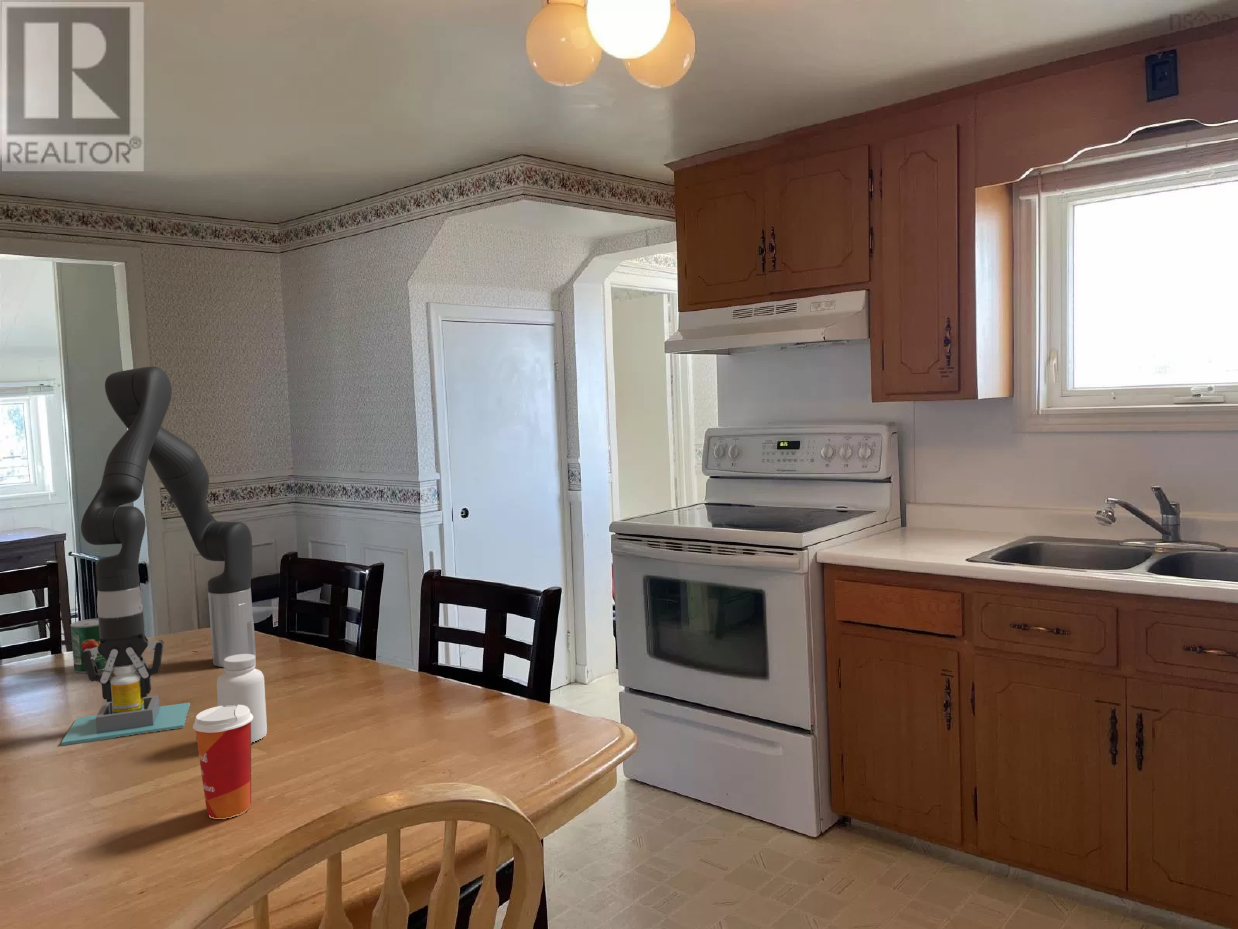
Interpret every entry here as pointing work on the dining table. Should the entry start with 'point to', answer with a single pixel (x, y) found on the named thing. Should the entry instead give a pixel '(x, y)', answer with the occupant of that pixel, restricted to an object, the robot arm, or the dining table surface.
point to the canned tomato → (85, 643)
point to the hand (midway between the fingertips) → (127, 698)
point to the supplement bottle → (126, 689)
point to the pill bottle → (244, 690)
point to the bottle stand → (127, 721)
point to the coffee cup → (225, 758)
